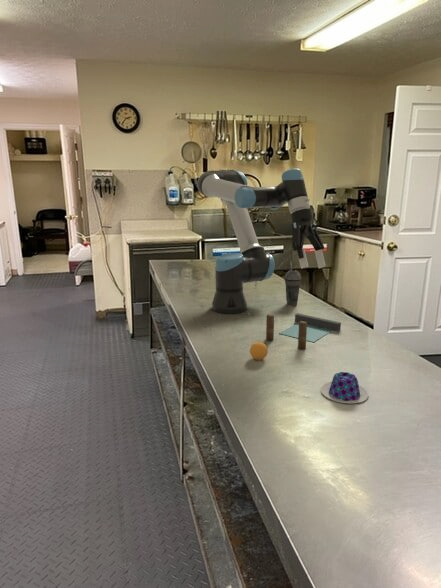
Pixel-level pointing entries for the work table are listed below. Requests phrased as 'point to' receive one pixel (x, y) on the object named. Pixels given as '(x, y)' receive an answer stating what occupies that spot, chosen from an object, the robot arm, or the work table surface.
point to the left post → (270, 327)
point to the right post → (302, 335)
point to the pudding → (344, 388)
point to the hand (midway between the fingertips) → (313, 267)
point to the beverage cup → (292, 286)
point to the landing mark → (312, 332)
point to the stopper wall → (318, 322)
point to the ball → (258, 350)
